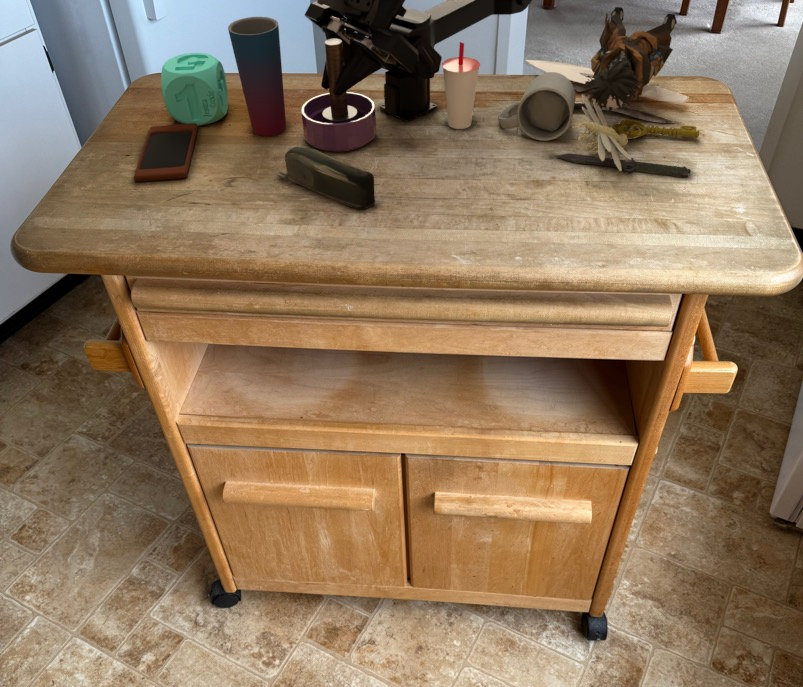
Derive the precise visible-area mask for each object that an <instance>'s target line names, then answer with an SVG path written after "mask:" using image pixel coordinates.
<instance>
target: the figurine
mask: <svg viewBox="0 0 803 687" xmlns="http://www.w3.org/2000/svg"><path fill="white" fill-rule="evenodd" d="M624 12H625V11H624V8H623V7H621V6H615V7H614V9H613V10H612V12H610V16H609V13H605V20H604V28H603V30H602V32H601V36H599V37H600V38H599V44H600V48H599V50H597V51H596V54H594V55H592V57H591V59H590V66H591V67H590V68H592V71H593V73H594V72H595V73H594V75H593V76H592V75H587V78H590V79H591V77H592V78H594V79H591V81H590V80H589V79H588V80H589V81H590V82H589V81H587V82H586V81H584V82H586V83H585V84H587V86H588V85H589V84H590V85H593V86H590V87H588V88H586V89H585V90H584V91H583V92H585V91H588V92H586V93H584V94H583V95H585V97H587V96H589V97H588V101H589V103H592V101H593V100H596V103H598V104H597V106H598V105H600V107H601V105H602V106H603V108H607V107H608V108H609V110H608V112H612V111H611V110H612V108H613V109H614V108H621V107H622V106H625V105H628V106H630V103H629V102H632V101H635V100H638V98H636V96H640V95H641V94H642V90H643V87H644V86H645V85H648V84H650V81H651V80H652V78H653V77H656V76H657V75H658V74H659V73H660V72H661V71H662V69H663V67H664V66H665V63H667V60H668V59H669V57H670V55H671V54H672V52H673V51H674V49H673V48H671V44H672V35H671V34H672V32H673V31H674V29H675V26H676V25H677V23H678V21H677V17H676V14H673V13H667V14H666V15H665V17H664V19H663V22H662V24H661V25H658V26H656V27H654V28H651V29H649V30H646V31H645V30H638V31H634V32H633V33H632V34H627V29H626V28H625V25H624V23H623V21H624ZM585 84H584V85H585ZM591 89H593V90H591ZM640 97H641V96H640ZM596 103H595V106H596ZM592 104H593V103H592ZM592 106H594V104H593V105H592ZM597 106H596V107H597ZM599 109H600V108H599Z"/></svg>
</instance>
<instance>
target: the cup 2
mask: <svg viewBox="0 0 803 687" xmlns="http://www.w3.org/2000/svg"><path fill="white" fill-rule="evenodd" d="M464 51H465V43H464V42H461V41H460V42H459V50H458V56H457V57H451V58H448V59H445V60H444V61H443V62H442V63H441V67H442V71H443V72H442V74H443V82H444V83H443V84H444V95H445V106H446V115H447V116H446V117H447V125H448V126H449V128H452V129H456V130H464V129H467V128H470V127H471V125H472V121H473V114H474V108H475V100H476V94H477V85H478V80H479V79H478V78H479V70H480V67H481V63H480V61H479V60H477V59H475V58H472V57H465V56H464Z"/></svg>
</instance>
